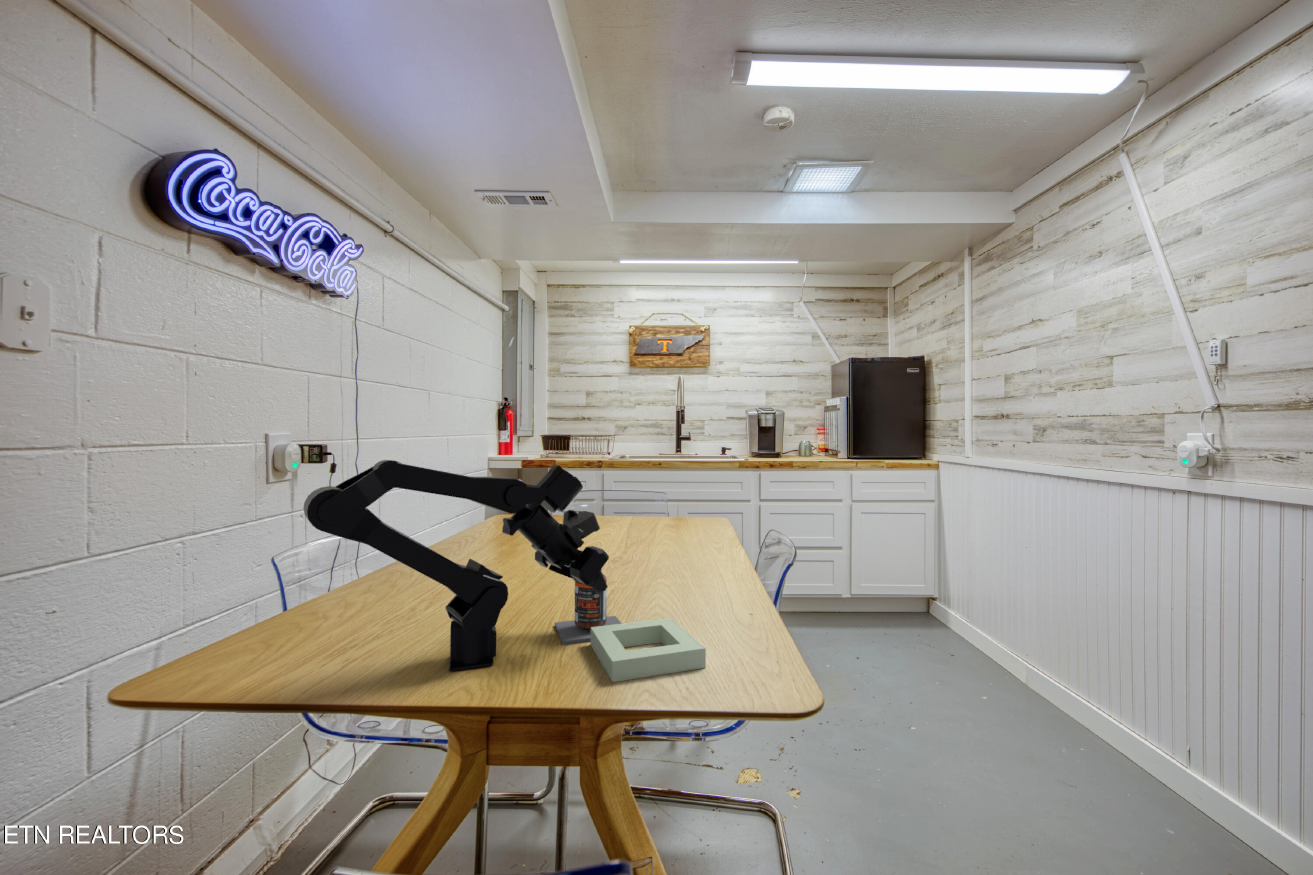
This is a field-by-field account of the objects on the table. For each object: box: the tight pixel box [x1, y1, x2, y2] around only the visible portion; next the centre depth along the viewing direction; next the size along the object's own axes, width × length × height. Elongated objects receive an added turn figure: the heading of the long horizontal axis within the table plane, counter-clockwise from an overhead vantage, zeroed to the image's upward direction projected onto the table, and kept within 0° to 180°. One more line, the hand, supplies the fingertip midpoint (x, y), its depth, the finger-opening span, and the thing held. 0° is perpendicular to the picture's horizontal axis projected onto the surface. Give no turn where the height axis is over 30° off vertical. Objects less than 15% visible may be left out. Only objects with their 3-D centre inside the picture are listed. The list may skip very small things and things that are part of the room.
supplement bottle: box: [574, 567, 608, 629], centre depth 95 cm, size 6×6×11 cm
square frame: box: [590, 617, 707, 683], centre depth 84 cm, size 15×15×3 cm
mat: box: [554, 615, 623, 646], centre depth 95 cm, size 12×10×1 cm
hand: (596, 585), depth 96 cm, fingers closed on supplement bottle, 6 cm apart
